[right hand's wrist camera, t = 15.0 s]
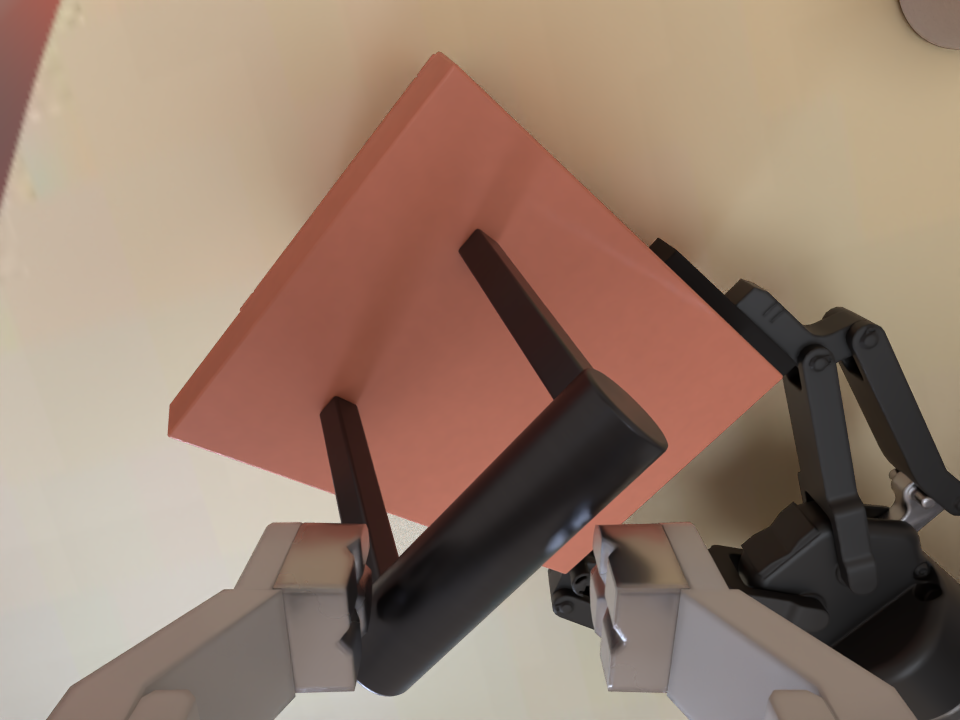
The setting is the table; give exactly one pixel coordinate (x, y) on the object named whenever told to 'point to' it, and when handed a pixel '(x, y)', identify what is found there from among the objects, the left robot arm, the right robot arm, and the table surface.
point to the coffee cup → (935, 20)
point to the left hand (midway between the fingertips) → (559, 354)
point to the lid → (467, 368)
